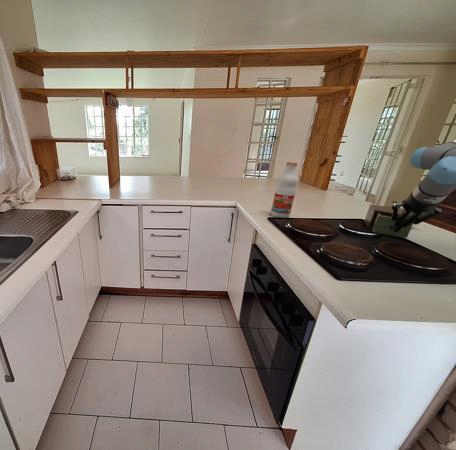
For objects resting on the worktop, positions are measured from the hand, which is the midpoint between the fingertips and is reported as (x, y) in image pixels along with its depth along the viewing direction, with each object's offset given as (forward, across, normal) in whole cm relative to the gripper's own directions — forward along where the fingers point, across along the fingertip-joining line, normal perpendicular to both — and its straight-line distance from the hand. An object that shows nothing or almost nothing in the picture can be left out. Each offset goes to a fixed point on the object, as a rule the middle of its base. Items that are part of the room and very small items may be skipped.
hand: (395, 228), depth 97 cm
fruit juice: (+10, -44, +1) cm, 45 cm away
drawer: (+12, 0, +5) cm, 13 cm away
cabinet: (+18, 0, +11) cm, 21 cm away
